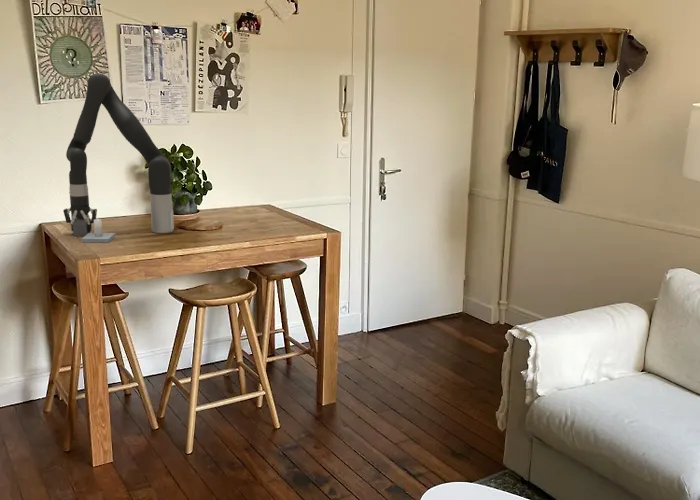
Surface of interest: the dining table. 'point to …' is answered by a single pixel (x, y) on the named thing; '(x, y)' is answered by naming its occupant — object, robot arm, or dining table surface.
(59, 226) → the dining table surface
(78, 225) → the block
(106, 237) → the post base
